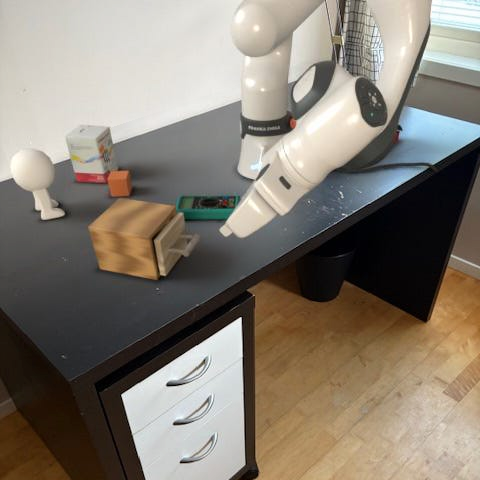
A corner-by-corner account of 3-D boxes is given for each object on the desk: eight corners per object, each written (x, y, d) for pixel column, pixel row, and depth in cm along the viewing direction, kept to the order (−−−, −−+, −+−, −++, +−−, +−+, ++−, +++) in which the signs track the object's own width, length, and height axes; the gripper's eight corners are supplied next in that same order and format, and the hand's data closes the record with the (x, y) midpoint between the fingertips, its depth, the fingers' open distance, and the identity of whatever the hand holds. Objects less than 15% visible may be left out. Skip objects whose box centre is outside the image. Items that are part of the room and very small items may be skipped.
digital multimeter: (241, 220, 106) (240, 208, 104) (175, 221, 107) (173, 209, 105) (242, 204, 111) (242, 193, 109) (179, 205, 112) (178, 193, 110)
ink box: (106, 183, 122) (95, 137, 114) (76, 181, 123) (62, 136, 115) (119, 169, 128) (109, 124, 120) (90, 167, 130) (78, 123, 122)
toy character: (72, 214, 110) (53, 151, 100) (33, 226, 107) (9, 162, 97) (61, 199, 116) (41, 138, 106) (23, 210, 113) (-1, 148, 103)
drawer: (207, 250, 96) (204, 215, 91) (186, 280, 89) (181, 244, 84) (138, 238, 100) (131, 205, 95) (112, 266, 93) (103, 231, 88)
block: (132, 187, 120) (129, 170, 117) (129, 196, 116) (126, 178, 113) (114, 188, 120) (110, 171, 117) (111, 196, 117) (107, 179, 113)
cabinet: (182, 247, 99) (176, 205, 92) (157, 280, 91) (148, 237, 84) (128, 238, 102) (119, 197, 96) (99, 269, 94) (87, 227, 88)
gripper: (292, 130, 80) (239, 178, 89) (256, 184, 66) (197, 234, 75) (316, 158, 82) (262, 202, 91) (286, 217, 68) (225, 262, 77)
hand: (233, 217), depth 83 cm, fingers open, 8 cm apart
